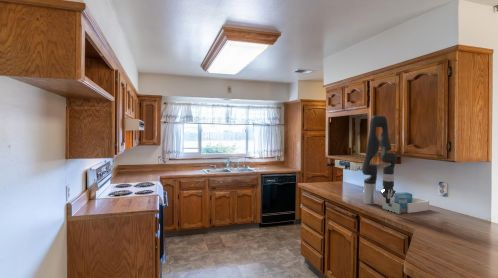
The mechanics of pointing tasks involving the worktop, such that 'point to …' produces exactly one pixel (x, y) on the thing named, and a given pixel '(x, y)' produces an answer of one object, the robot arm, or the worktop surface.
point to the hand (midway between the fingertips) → (387, 203)
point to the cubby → (417, 205)
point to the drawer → (393, 207)
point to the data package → (403, 199)
